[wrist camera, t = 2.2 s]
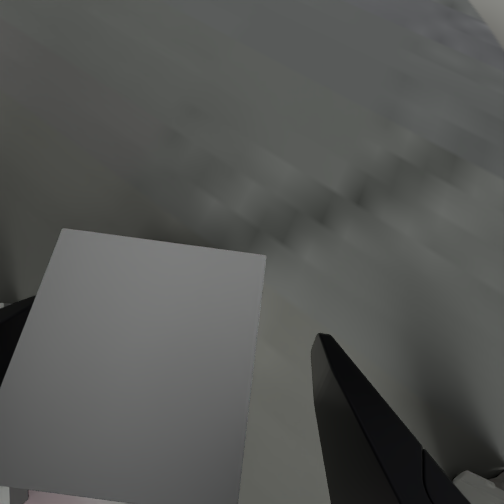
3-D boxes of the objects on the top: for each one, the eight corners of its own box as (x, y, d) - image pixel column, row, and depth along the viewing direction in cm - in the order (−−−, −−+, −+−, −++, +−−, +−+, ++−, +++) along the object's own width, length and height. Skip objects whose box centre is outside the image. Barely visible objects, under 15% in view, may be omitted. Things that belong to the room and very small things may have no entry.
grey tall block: (240, 373, 14) (236, 517, 4) (168, 363, 14) (-36, 480, 4) (250, 299, 16) (266, 255, 5) (183, 290, 16) (62, 227, 5)
